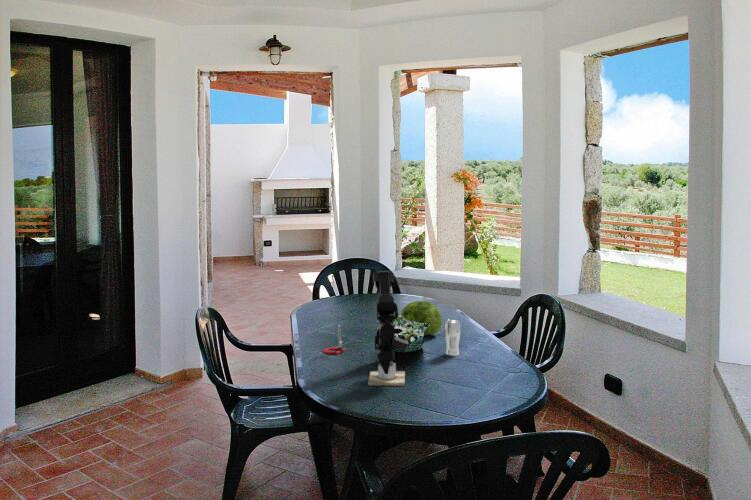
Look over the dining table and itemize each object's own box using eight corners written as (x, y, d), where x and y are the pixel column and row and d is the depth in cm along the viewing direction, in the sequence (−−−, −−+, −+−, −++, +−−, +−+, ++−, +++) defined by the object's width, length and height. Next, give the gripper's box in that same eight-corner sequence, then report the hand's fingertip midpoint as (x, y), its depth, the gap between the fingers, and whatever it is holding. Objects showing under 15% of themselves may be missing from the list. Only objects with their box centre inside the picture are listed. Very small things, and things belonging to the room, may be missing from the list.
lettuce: (410, 310, 323) (391, 296, 310) (449, 307, 309) (430, 292, 296) (404, 342, 315) (384, 329, 302) (444, 341, 301) (425, 327, 288)
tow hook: (320, 353, 278) (337, 355, 273) (318, 326, 276) (335, 327, 272) (330, 349, 285) (347, 350, 280) (328, 322, 284) (345, 323, 279)
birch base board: (370, 373, 248) (370, 370, 248) (404, 373, 247) (404, 370, 247) (368, 385, 234) (368, 382, 234) (404, 385, 233) (404, 382, 233)
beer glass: (463, 355, 271) (463, 322, 269) (449, 357, 268) (449, 323, 266) (455, 350, 277) (455, 318, 275) (441, 352, 275) (441, 320, 273)
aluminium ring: (379, 373, 244) (378, 361, 244) (395, 373, 244) (395, 361, 243) (377, 379, 238) (377, 367, 237) (395, 379, 237) (395, 367, 236)
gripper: (406, 338, 229) (407, 378, 231) (407, 325, 247) (407, 362, 249) (377, 338, 229) (377, 378, 231) (379, 325, 248) (380, 362, 250)
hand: (387, 370), depth 240 cm, fingers open, 9 cm apart
